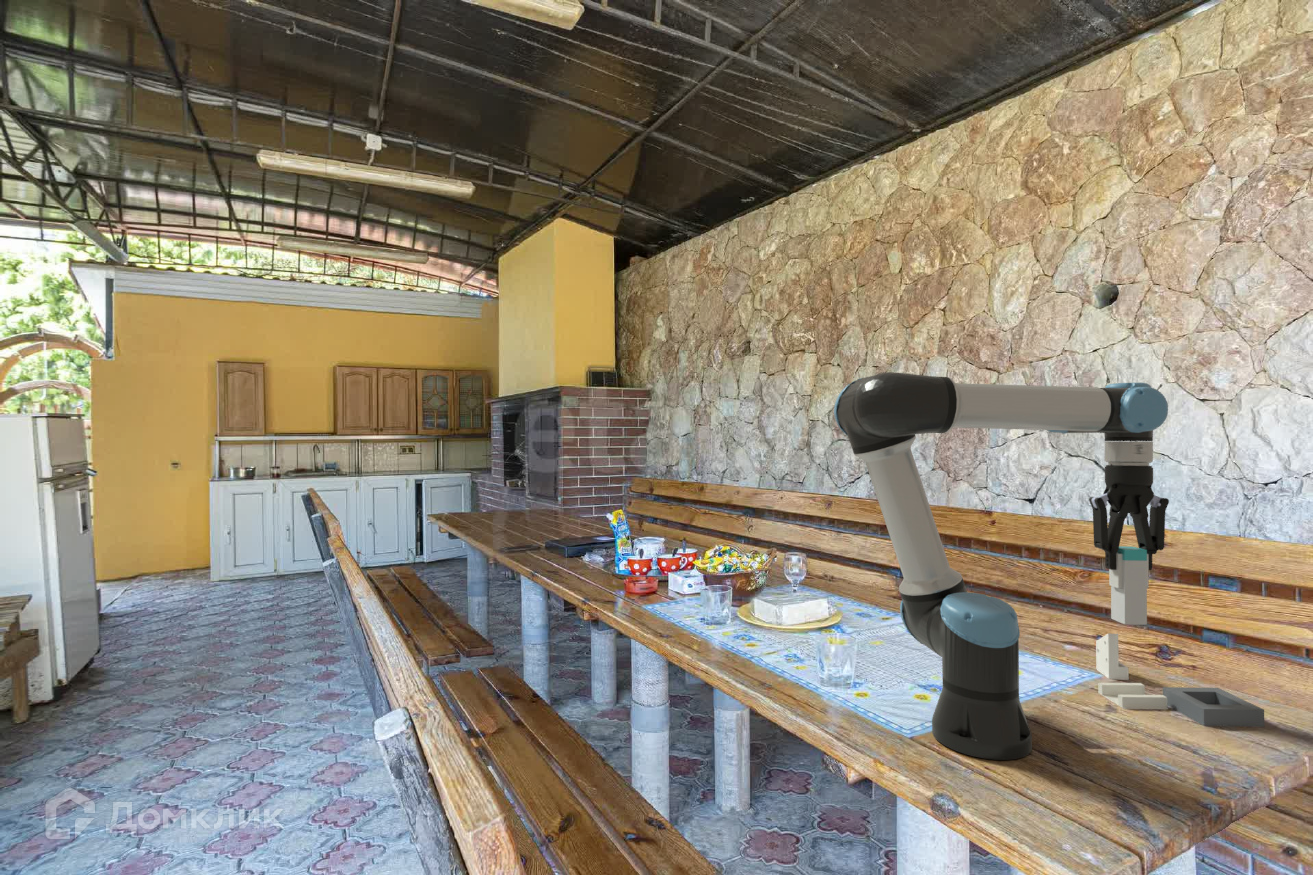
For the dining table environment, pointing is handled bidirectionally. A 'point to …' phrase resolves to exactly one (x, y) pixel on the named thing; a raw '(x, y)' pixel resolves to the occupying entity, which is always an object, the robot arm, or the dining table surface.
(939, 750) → the dining table surface
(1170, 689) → the block
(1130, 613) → the plug
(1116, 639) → the white l-shaped bracket
